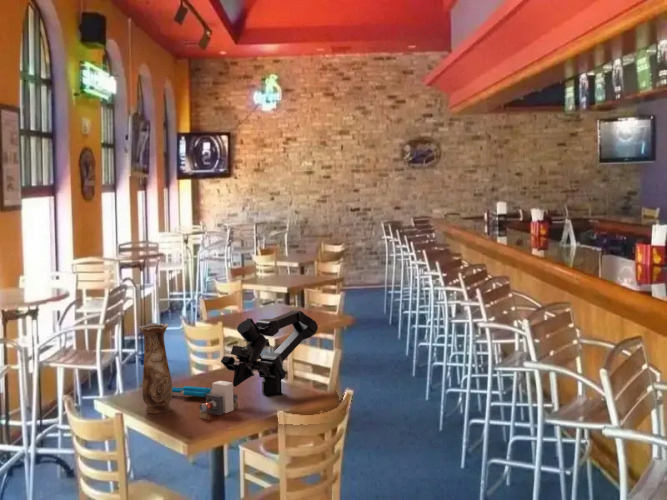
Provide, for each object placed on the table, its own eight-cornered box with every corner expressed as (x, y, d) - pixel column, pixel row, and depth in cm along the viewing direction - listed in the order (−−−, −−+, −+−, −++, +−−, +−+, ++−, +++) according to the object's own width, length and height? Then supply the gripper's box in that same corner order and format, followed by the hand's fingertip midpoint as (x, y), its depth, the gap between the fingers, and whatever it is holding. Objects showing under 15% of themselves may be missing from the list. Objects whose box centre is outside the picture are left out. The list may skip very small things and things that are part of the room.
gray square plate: (209, 411, 278) (209, 393, 278) (222, 414, 275) (222, 396, 274) (206, 412, 277) (205, 394, 276) (219, 415, 273) (219, 397, 273)
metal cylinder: (231, 406, 285) (231, 392, 285) (237, 407, 283) (237, 394, 283) (199, 417, 272) (199, 403, 272) (206, 419, 270) (205, 404, 270)
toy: (152, 397, 299) (226, 404, 289) (152, 383, 298) (226, 389, 289) (163, 392, 306) (235, 398, 297) (163, 378, 306) (235, 383, 296)
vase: (164, 415, 275) (161, 328, 273) (136, 413, 278) (133, 327, 276) (178, 407, 285) (175, 323, 283) (150, 405, 288) (148, 322, 286)
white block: (220, 407, 283) (220, 380, 282) (233, 410, 279) (232, 382, 278) (212, 410, 279) (212, 382, 278) (225, 413, 276) (224, 385, 275)
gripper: (223, 333, 292) (202, 369, 284) (263, 339, 281) (243, 376, 273) (238, 351, 299) (218, 387, 291) (278, 357, 288) (258, 394, 280)
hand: (234, 385), depth 283 cm, fingers closed
